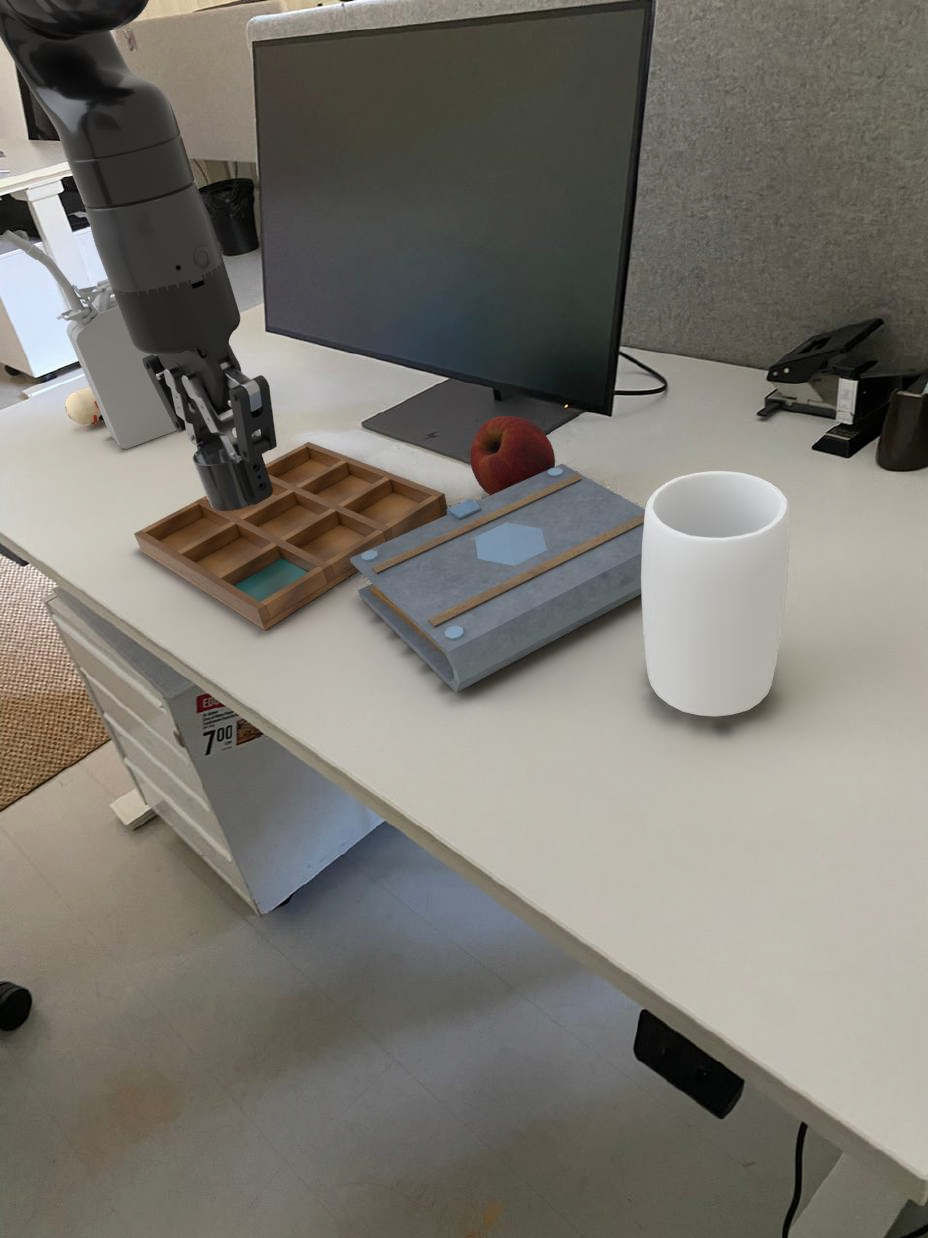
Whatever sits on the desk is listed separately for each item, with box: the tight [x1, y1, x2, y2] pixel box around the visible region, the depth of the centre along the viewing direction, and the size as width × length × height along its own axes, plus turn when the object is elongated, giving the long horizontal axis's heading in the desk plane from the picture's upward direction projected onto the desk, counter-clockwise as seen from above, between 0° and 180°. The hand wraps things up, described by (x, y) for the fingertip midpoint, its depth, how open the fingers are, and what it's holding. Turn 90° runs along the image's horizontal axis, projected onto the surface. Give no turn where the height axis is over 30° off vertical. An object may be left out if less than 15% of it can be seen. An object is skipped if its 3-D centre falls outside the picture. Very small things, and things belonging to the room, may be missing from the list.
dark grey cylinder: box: [192, 437, 252, 511], centre depth 67 cm, size 4×4×4 cm
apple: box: [469, 415, 556, 496], centre depth 79 cm, size 7×8×8 cm
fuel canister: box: [1, 229, 178, 450], centre depth 98 cm, size 15×5×25 cm, turn 123°
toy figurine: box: [64, 386, 104, 425], centre depth 110 cm, size 8×4×12 cm
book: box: [350, 463, 646, 693], centre depth 68 cm, size 21×16×5 cm
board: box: [133, 441, 448, 631], centre depth 81 cm, size 21×21×2 cm
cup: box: [641, 470, 790, 717], centre depth 54 cm, size 8×8×14 cm
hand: (242, 489), depth 68 cm, fingers closed on dark grey cylinder, 4 cm apart
